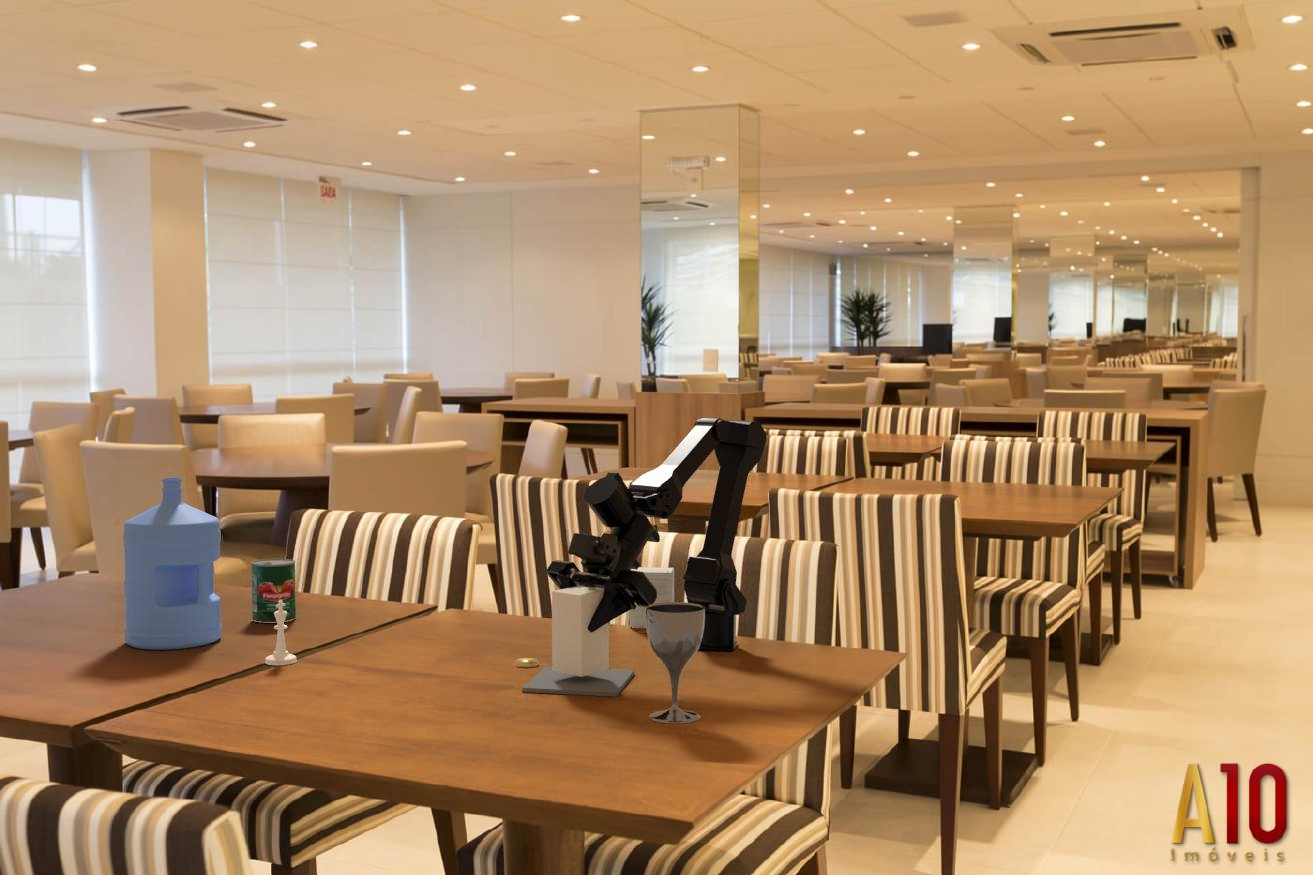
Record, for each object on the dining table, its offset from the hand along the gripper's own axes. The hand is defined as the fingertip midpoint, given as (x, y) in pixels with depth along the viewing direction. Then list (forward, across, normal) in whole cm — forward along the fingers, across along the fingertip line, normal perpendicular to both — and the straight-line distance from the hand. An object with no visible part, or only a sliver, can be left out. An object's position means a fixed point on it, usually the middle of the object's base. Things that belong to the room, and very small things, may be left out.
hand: (573, 627), depth 194 cm
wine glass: (+9, +23, +3) cm, 25 cm away
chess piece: (+20, -45, -8) cm, 50 cm away
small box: (-23, -20, +36) cm, 47 cm away
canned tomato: (+7, -76, +5) cm, 77 cm away
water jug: (+23, -72, -10) cm, 77 cm away
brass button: (+3, -14, +9) cm, 18 cm away
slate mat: (+5, 0, +7) cm, 9 cm away
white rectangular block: (+4, 0, +6) cm, 7 cm away
